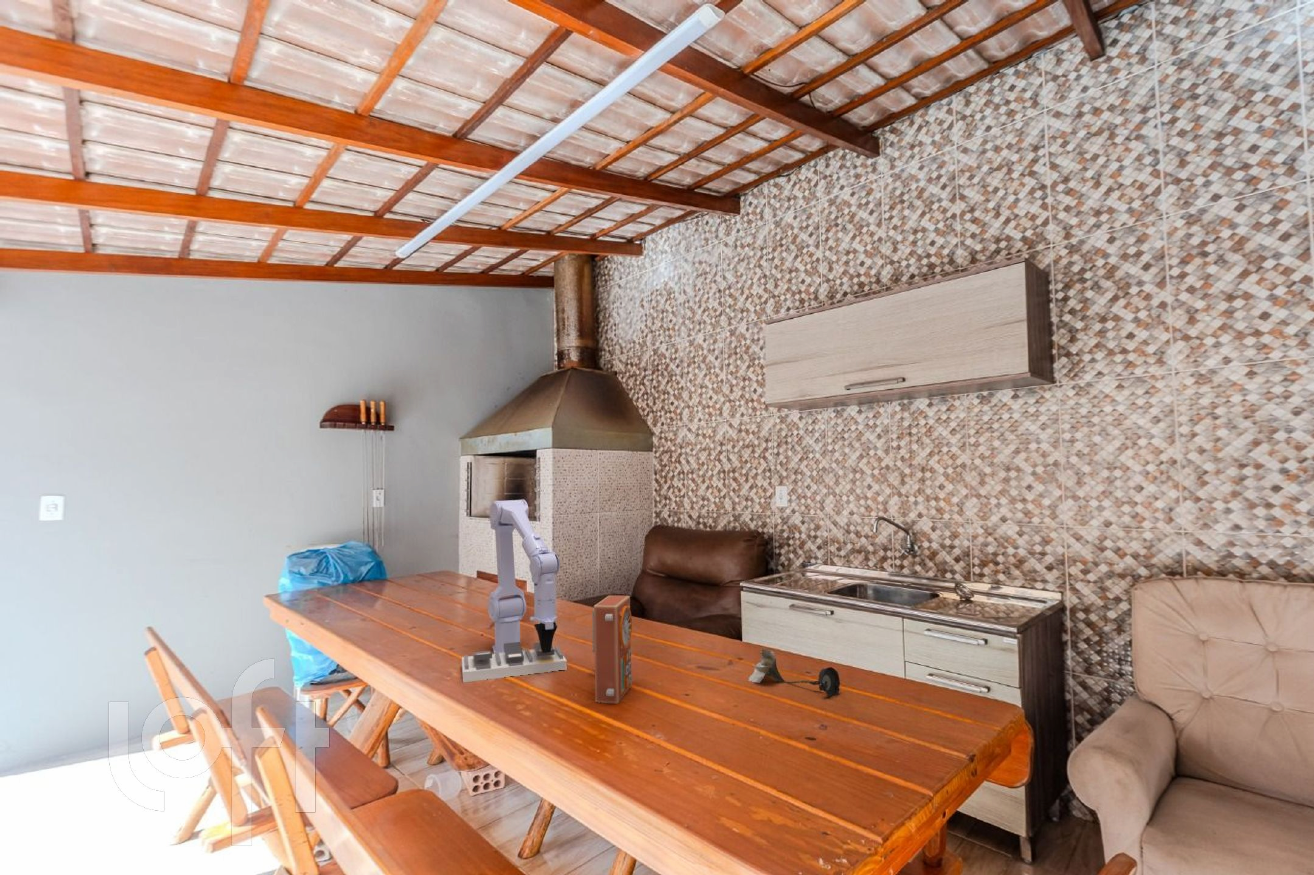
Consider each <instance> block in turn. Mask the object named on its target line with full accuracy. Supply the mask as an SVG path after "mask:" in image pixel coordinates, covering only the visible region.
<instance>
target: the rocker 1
mask: <svg viewBox="0 0 1314 875" xmlns="http://www.w3.org/2000/svg"><path fill="white" fill-rule="evenodd" d="M492 654H493V652H491V650H485V651H477V652H476V651H475V652H474V651H473V652H472V656H473V658H474V660H481V659H490V658H492Z"/></svg>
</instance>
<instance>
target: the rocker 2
mask: <svg viewBox="0 0 1314 875" xmlns="http://www.w3.org/2000/svg"><path fill="white" fill-rule="evenodd" d="M532 645H533V650H535V652H536V654H537V656H547V655H555V650H554V647H553V646H552V647H551V652H547V653H542V650H541V647H540V642H533V644H532Z"/></svg>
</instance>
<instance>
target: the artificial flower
mask: <svg viewBox="0 0 1314 875" xmlns="http://www.w3.org/2000/svg"><path fill="white" fill-rule="evenodd" d="M759 657H760V660H759V661H760V662H758V663H757V664H756V665H755V664H753V663H752V666H753V667H754V671H753V673H752V674H750V676H749V677H748V679H749V680H748V681H749V682H751V681H752V682H751V683H753V682H754V683H756V684H760V683H761V681H763V679H764V678H765V676H766V677H767V676H768V677H771V678H772V679H773V681H775V682H779V683H784V684H790V685H791V684H799V683H802V684H803V683H804V684H810V685H812V686H817V685H818V690H819V691H820V692H821V691H824V693H825V696H827V697H828V698H831V697H837V695H838V694H839V692H840V691H841V689H840V685H841V682H840V676H839V675H840V674H839V672H838V671H837V670H836V669H835V668H834V667H832V666H829V667H826V668H822V669H821V670H820V672H819V673H818V680H815V681H813V680H811V681H810V680H807V679H806V680H804V679H802V680H794V681H786V680H784V678H783V677H782V675H781V674H780V671H779V668H778V667H777V666H778V665H777V658H776V653H775V652H774V651H773V650H768V649H764V648H763V649H761V650H760V651H759Z"/></svg>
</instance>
